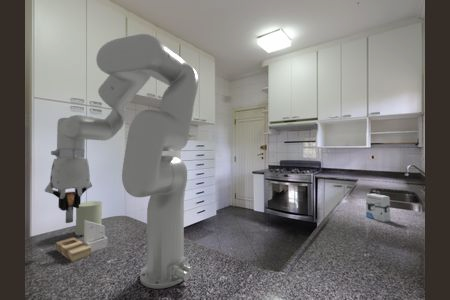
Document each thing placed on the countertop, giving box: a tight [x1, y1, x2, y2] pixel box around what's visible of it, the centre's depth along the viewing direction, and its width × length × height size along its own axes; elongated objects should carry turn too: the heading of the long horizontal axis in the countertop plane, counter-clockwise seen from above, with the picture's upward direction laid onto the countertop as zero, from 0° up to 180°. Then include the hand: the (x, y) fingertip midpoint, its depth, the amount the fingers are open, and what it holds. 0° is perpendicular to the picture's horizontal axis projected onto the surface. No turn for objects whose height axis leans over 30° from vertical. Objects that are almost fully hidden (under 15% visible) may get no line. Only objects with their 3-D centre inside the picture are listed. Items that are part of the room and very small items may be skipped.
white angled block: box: [83, 220, 108, 253], centre depth 67 cm, size 4×10×9 cm
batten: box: [55, 236, 92, 263], centre depth 65 cm, size 14×5×2 cm, turn 56°
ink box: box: [365, 193, 391, 223], centre depth 99 cm, size 8×5×12 cm, turn 17°
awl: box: [65, 191, 76, 224], centre depth 67 cm, size 3×3×10 cm
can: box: [74, 200, 103, 236], centre depth 83 cm, size 9×9×12 cm
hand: (69, 208), depth 67 cm, fingers closed on awl, 3 cm apart
